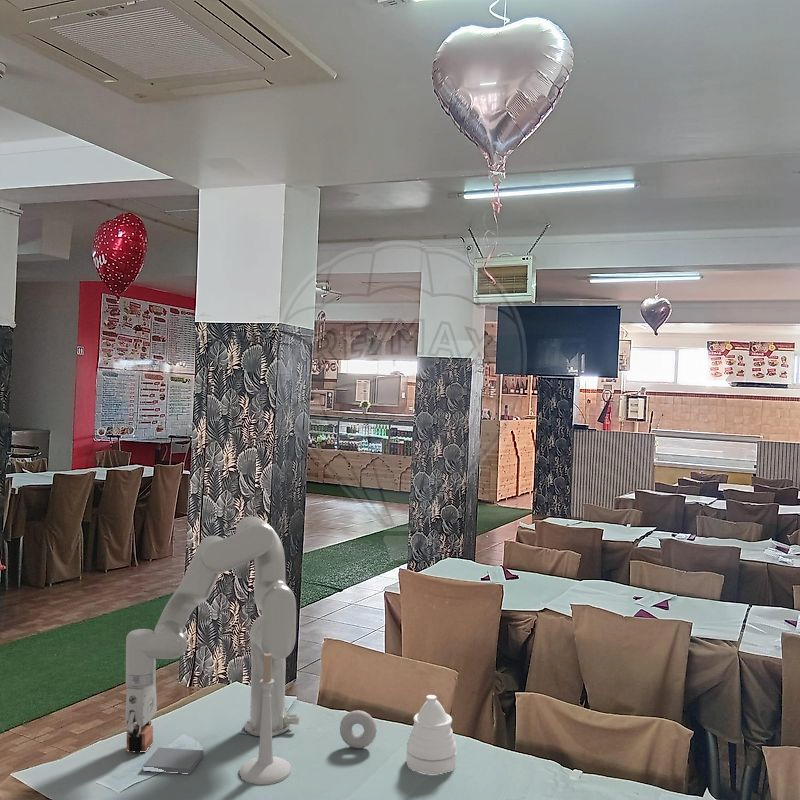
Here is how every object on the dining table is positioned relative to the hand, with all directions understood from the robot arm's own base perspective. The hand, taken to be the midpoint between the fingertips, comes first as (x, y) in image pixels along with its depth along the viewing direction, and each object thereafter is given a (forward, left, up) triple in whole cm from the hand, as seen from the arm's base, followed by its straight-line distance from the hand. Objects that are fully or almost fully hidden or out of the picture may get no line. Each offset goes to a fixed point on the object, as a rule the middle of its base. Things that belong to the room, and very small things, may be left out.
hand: (139, 745), depth 209 cm
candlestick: (-36, +8, -1) cm, 37 cm away
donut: (-57, -8, -1) cm, 57 cm away
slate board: (-12, +7, -1) cm, 14 cm away
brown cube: (0, 0, -1) cm, 1 cm away
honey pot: (-77, -2, -1) cm, 77 cm away
